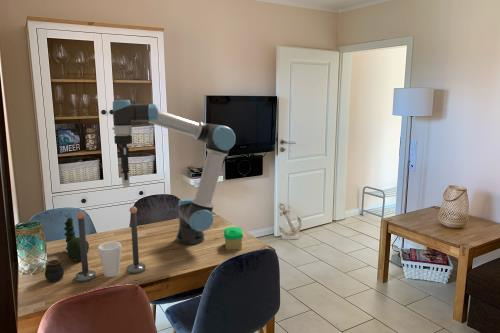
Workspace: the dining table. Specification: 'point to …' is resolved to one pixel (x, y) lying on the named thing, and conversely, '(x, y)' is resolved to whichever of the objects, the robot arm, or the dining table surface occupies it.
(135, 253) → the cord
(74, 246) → the toy figurine
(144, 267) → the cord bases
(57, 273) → the mate gourd
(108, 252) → the foam cup
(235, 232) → the cake
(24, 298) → the dining table surface
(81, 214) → the dark gray rod
